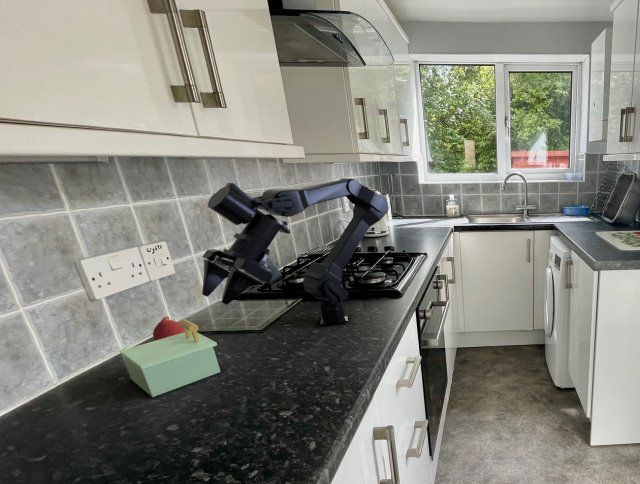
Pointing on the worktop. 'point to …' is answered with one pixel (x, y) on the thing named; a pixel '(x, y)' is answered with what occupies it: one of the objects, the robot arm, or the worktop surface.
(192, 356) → the bin
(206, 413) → the worktop surface
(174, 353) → the bin lid
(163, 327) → the onion
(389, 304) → the worktop surface
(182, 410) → the worktop surface
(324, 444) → the worktop surface
